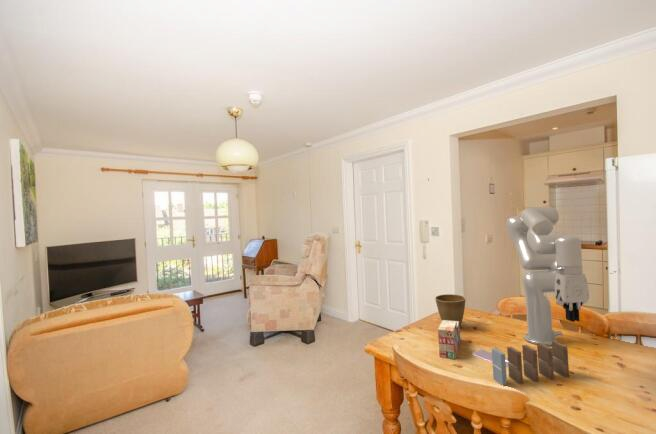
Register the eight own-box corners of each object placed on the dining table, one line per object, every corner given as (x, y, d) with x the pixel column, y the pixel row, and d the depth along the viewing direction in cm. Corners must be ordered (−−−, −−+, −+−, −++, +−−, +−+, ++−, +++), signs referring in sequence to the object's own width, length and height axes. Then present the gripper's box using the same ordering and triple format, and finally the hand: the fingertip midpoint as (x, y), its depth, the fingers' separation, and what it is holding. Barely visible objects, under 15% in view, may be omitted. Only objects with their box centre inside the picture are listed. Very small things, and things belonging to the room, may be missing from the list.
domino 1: (497, 378, 115) (495, 348, 115) (507, 385, 110) (505, 353, 110) (493, 379, 115) (491, 348, 115) (502, 386, 110) (500, 354, 110)
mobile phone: (481, 348, 140) (516, 360, 127) (481, 350, 140) (516, 363, 127) (470, 353, 136) (505, 366, 123) (470, 355, 136) (505, 368, 123)
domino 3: (528, 374, 117) (526, 344, 117) (538, 381, 112) (536, 350, 112) (524, 375, 117) (522, 345, 117) (534, 382, 112) (532, 350, 112)
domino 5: (557, 370, 118) (555, 341, 118) (569, 377, 113) (567, 346, 113) (553, 371, 118) (551, 341, 118) (565, 377, 113) (563, 346, 113)
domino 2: (513, 376, 116) (511, 346, 116) (523, 383, 111) (521, 352, 111) (508, 377, 116) (507, 346, 116) (518, 384, 111) (516, 352, 111)
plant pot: (445, 321, 178) (443, 292, 178) (472, 327, 167) (470, 296, 167) (431, 328, 168) (429, 298, 168) (459, 335, 157) (457, 303, 157)
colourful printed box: (446, 339, 154) (445, 313, 154) (460, 340, 151) (459, 315, 151) (439, 357, 135) (437, 328, 135) (455, 359, 132) (453, 330, 132)
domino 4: (542, 372, 117) (541, 342, 117) (554, 379, 112) (552, 348, 113) (538, 373, 117) (537, 343, 117) (549, 379, 112) (548, 348, 112)
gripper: (559, 273, 112) (562, 325, 112) (598, 270, 114) (601, 321, 114) (542, 270, 119) (545, 319, 119) (579, 267, 121) (582, 315, 121)
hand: (572, 320), depth 116 cm, fingers closed
